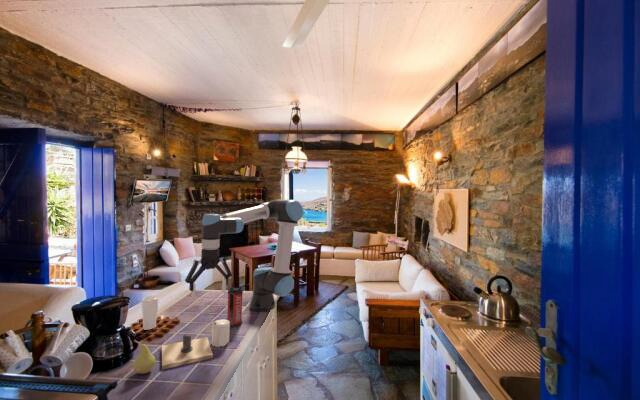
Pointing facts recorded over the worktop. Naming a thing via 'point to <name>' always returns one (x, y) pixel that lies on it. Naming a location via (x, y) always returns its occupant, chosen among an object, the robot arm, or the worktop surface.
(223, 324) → the white domed knob
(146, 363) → the fruit
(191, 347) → the board
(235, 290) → the speaker
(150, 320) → the drinking glass
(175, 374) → the worktop surface
